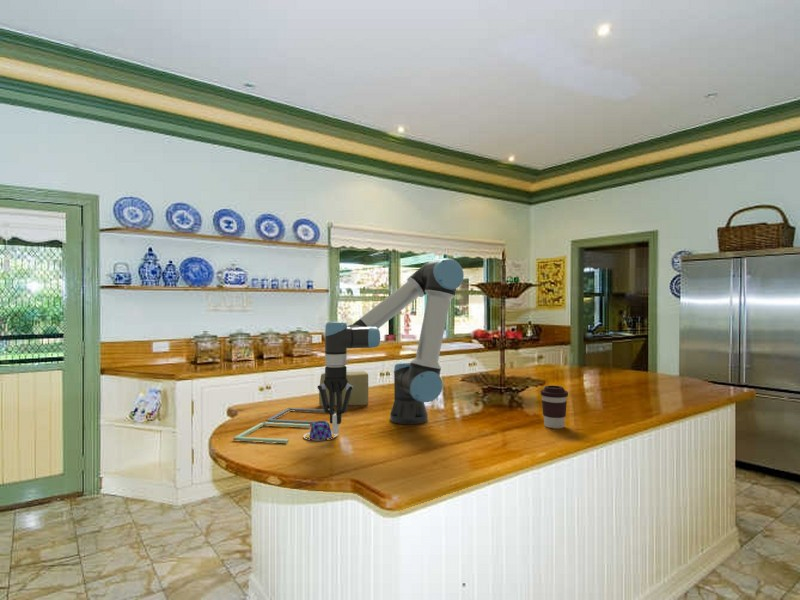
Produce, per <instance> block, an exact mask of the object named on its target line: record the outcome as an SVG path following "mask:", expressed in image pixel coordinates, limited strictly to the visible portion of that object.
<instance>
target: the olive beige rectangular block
mask: <svg viewBox="0 0 800 600" xmlns="http://www.w3.org/2000/svg"><path fill="white" fill-rule="evenodd" d="M346 378H347V381H348V383H349V384H350V385H351V386H352V385H353V386H354V389H353V390H352V392H351V395H350V399H349V403H348V405H349V406H368V405H369V373H368V372H367V371H365V370H360V371H347V377H346ZM324 380H325V372H322V373H321V375H320V381H319V385H321V384H323V383H324ZM325 387H326V386H325ZM325 390H326V394H327V398H328V403H329V390H328V389H327V387H326V388H325ZM346 392H347V390H346V387H345V388H344V389H343V391H342V405H343V403H344V399H345V395H346ZM318 400H319V401H318V405H319V407H323V402H322V398H321V393H320V391H319V390H318ZM335 407H337V396H336V392H335Z"/></svg>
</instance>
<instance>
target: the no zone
mask: <svg viewBox="0 0 800 600" xmlns="http://www.w3.org/2000/svg"><path fill="white" fill-rule="evenodd" d="M290 410H295V411H309V412H308V413H311V412H324V413H323V414H326V413H325V411H324V408H300V407H298V408H297V407H296V408H295V407H288V408H286V409H284V410H282V411H280V412H279V413H277V414H275V415H272V416H271V417H269V418H267V419H266V420H265V422H266V421H268V422H283V423H299V424H310V426H312V424H313V423H314V422H316V421H315V420H298V419H297V420H296V419H294V420H293V419H275V418H277V417H279V416H281V415H283V414H284V413H286V412H288V411H290ZM283 416H284V415H283Z"/></svg>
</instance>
